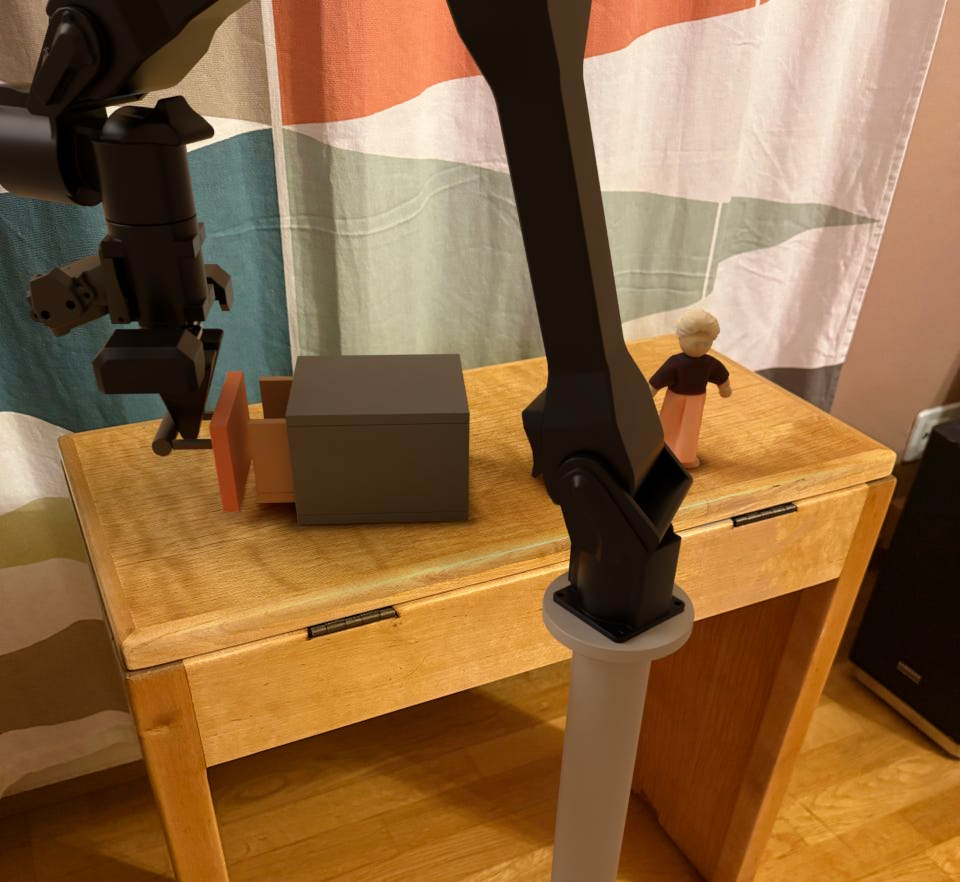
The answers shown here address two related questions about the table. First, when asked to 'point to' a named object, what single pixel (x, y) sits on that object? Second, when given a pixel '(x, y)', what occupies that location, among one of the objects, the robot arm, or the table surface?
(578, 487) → the robot arm
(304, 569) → the table surface
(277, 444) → the drawer
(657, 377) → the grandmother figurine
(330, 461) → the cabinet
